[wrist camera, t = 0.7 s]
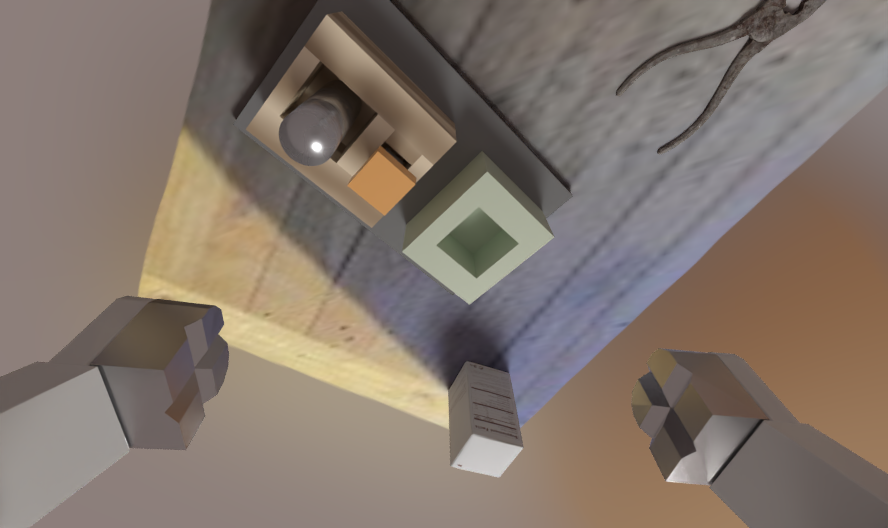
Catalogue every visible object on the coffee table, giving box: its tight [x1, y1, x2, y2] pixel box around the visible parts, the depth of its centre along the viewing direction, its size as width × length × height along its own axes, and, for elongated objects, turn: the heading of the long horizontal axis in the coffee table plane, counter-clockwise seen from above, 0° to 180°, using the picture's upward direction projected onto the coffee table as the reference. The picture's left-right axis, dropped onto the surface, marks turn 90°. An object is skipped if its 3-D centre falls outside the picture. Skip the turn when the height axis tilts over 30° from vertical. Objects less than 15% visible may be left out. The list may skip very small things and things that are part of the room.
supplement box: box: [448, 361, 523, 477], centre depth 59 cm, size 7×7×13 cm
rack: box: [402, 151, 554, 305], centre depth 46 cm, size 12×10×6 cm
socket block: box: [246, 12, 457, 228], centre depth 40 cm, size 12×14×6 cm
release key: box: [347, 146, 416, 216], centre depth 37 cm, size 4×4×6 cm
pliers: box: [616, 0, 826, 154], centre depth 40 cm, size 10×1×20 cm
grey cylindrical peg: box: [279, 80, 361, 166], centre depth 35 cm, size 4×4×12 cm
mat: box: [233, 0, 573, 295], centre depth 45 cm, size 19×31×1 cm, turn 46°
